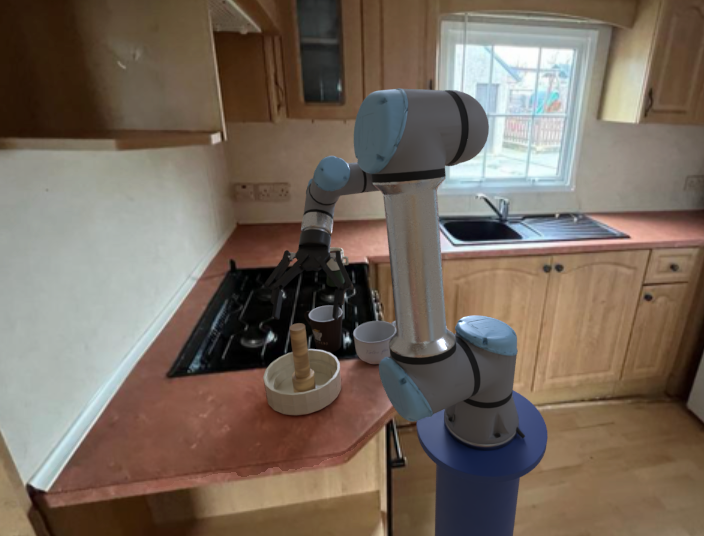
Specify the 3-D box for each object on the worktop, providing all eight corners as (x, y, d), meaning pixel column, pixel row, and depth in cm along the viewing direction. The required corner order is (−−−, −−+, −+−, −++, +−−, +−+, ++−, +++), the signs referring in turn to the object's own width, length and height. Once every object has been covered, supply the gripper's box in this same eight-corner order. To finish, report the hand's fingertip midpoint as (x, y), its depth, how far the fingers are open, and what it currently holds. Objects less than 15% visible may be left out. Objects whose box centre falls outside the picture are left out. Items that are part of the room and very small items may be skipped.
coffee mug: (350, 349, 108) (347, 315, 105) (318, 359, 104) (315, 325, 101) (333, 329, 118) (331, 298, 114) (304, 338, 113) (300, 306, 110)
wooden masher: (320, 385, 93) (313, 324, 88) (305, 398, 89) (298, 335, 84) (303, 379, 95) (296, 319, 90) (289, 392, 91) (280, 329, 86)
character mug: (353, 282, 148) (351, 248, 144) (346, 290, 142) (343, 255, 137) (325, 279, 151) (322, 246, 146) (317, 287, 144) (313, 252, 140)
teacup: (366, 375, 98) (365, 346, 95) (347, 353, 106) (345, 326, 104) (415, 356, 105) (415, 329, 102) (394, 337, 114) (393, 312, 111)
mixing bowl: (355, 381, 96) (354, 360, 94) (309, 428, 82) (306, 404, 80) (301, 363, 103) (299, 342, 100) (251, 403, 89) (246, 380, 87)
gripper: (368, 241, 105) (362, 323, 96) (271, 241, 105) (257, 322, 96) (364, 227, 98) (357, 313, 89) (260, 227, 98) (244, 312, 90)
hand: (305, 318), depth 93 cm, fingers open, 13 cm apart
